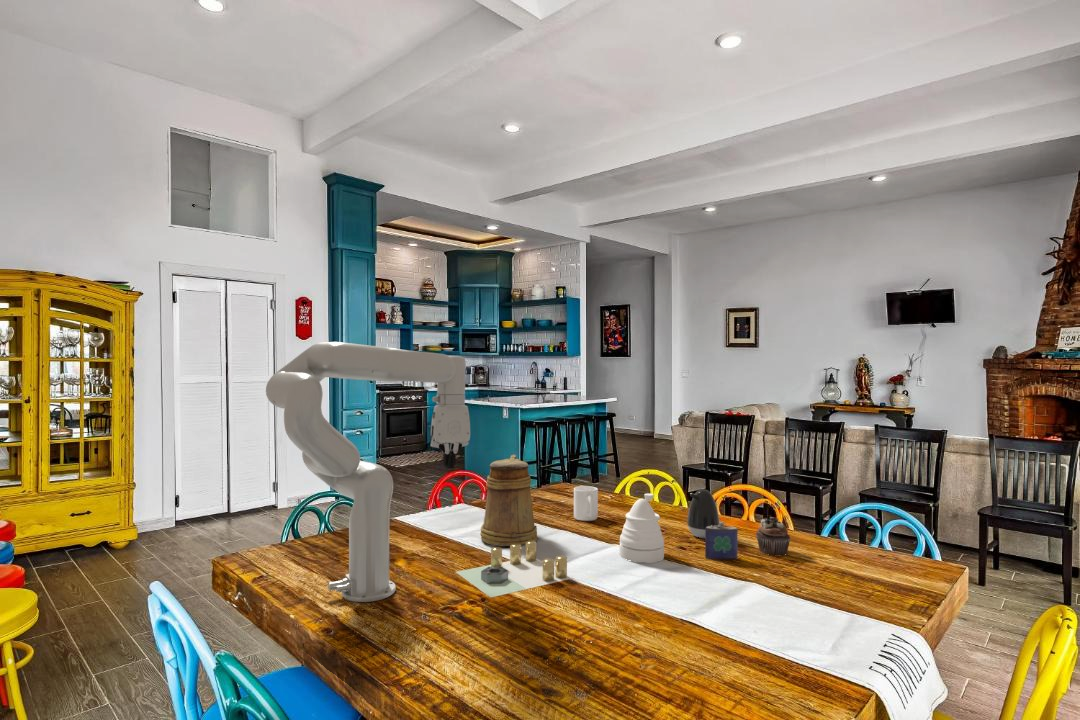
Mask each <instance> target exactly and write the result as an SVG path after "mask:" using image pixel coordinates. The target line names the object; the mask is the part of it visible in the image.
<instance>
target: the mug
mask: <svg viewBox="0 0 1080 720" xmlns="http://www.w3.org/2000/svg"><path fill="white" fill-rule="evenodd" d="M598 499H599V489H598V487H595V486H591V485H590V486H589V485H579V486H575V487H573V518H574V519H575V520H577V521H581V522H591V521H595V520H597V519H598V516H599V512H598V511H599V509H598V508H599V506H598V505H599V501H598Z"/></svg>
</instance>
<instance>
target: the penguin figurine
mask: <svg viewBox="0 0 1080 720" xmlns="http://www.w3.org/2000/svg"><path fill="white" fill-rule="evenodd" d="M689 496H690V497H692V500H691V502H690V504H689V508H688V513H687V521H686V522H687V523H686V524H687V526H688V531H690V533H691V534H692V535H693V536H694V537H697V538H698V537H699V538H698V539H705V528H706V527H708V526H711V525H712V526H714V525H715V526H714V527H716V526H718V525H720V522H721V521H720V516H719V514H720V513H719V510H718V506H717V504H716V501H715V499H714V497H713V494H712V493H711V492H710V491H709V490H708V489H705V488H704V489H698V490H697V491H696V492H695V493H693V492H691V493H689Z"/></svg>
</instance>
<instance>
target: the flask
mask: <svg viewBox="0 0 1080 720" xmlns="http://www.w3.org/2000/svg"><path fill="white" fill-rule="evenodd" d="M719 522H720V525H718V526H716V527H714V526H715V525H714V526H712V525H711V526H708V527H706V528H705V538H704V541H705V544H704V545H705V547H704V548H705V549H704V551H705V552H704V554H705V555H704V557H705V559H706V560H710V559H711V560H713V561H734V560H738V557H739V556H738V544H739V543H738V540H739V538H738V533H739V532H738V528H737V527H735V526H726V525H725V524H726V523H725V522H724V521H719Z"/></svg>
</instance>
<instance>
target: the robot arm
mask: <svg viewBox="0 0 1080 720" xmlns="http://www.w3.org/2000/svg"><path fill="white" fill-rule="evenodd" d="M466 362H467V361H466V359H465V357H464V356H460V355H447V354H445V353H438V352H437V353H436V352H426V351H418V350H416V351H415V350H407V349H400V348H395V347H387V346H380V345H379V346H378V345H367V344H360V343H359V344H358V343H351V342H342V341H329V342H328V341H327V342H326V341H325V342H324V341H323V342H317V343H315V344H312V345H311V346H310V347H308V348H307V349H305V350H303V352H301V353H300V354H298V355H297V356H296V357H294V358H293V359H292V360H291V361H289V362H288V363H287V364H285V365H284V366H283V367H281V368H280V369H279V370H278V371H276V372H275V373H274V374H273V375H271V377H270V378H269V380H268V381H267V383H266V387H265V396H266V397H267V400H268V401H269V402H270V403H271V404H272V405H273V406H274V407H277V408H280V409H284V410H283V424H284V430H285V432H286V436H287V437H288V438H289V440H290V442H291V443H293V444H294V445H295V446H296V448H298V449H299V450H300V451H301V452H302V454H301V455H302V456H301V457H302V462H303V463H304V465H305V466H306V468H307V469H308V470H309V471H310V472H311V473H312V474H313V475H315V476H316V477H317V478H319V479H320V480H321V481H322V482H324V483H325V484H326V485H328V486H329V487H330V488H331V489H332V490H334V491H335V492H337V493H338V494H340V495H341V496H344V497H346V498H349V499H352V500H353V504H352V507H351V510H350V514H349V518H348V519H349V521H348V573H346V574H345V575H344V576H345V578H342V579H341V580H338V581H337V580H336V581H331V582H330V581H329V582H328V585H327V586H328V591H329V592H331V591H336V592H337V593H339V592H342V593H341V595H342V598H344V599H345V600H346V601H349V602H353V603H356V602H357V603H369V602H371V603H372V602H377V601H381V600H385V599H386V598H389V597H390V596H392V595H393V594H394V593H395V592H396V589H397V588H396V584H395V582H393V581H392V580H390V513H391V512H390V511H391V501H392V497H393V492H394V479H393V476H392V474H391V473H390V471H389V470H388V469H387V468H386V467H384V466H383V465H380V464H377V463H374V462H371V461H365V460H364V461H363V460H361V455H360V451H359V450H358V448H357V446H356V445H355V444H354V443H353V442H352V441H351V440H349V439H348V438H347V437H346V436H344V435H343V434H342V433H341V432H340V431H338V430H337V429H336V428H335V427H334V426H333V425H332V424H331V423H330V421H329V422H328V420H327V419H326V418H325V416H324V415H323V412H322V404H323V403H322V401H323V393H324V392H323V388H322V385H321V381H323V380H324V379H325V378H334V379H344V380H345V379H347V380H361V381H363V380H364V381H375V382H420V383H435V384H436V383H437V384H436V385H437V386H436V387H437V388H436V389H437V390H436V395H435V396H432V397H431V401H432V402H435V403H436V405H434V407H433V413H432V417H431V423H430V424H431V425H430V439H431V441H430V447H432V448H437V449H439V450H440V451H441V452H442V454H443V456H442V461H443V462H442V465H443V467H444V468H445V469H447V470H450V469H455V465H456V464H457V462H456V459H457V458H456V456H457V455H456V454H458V452H459V451H460V449H461V448H463V447H466V446H468V445H470V444H469V441H470V439H471V422H470V411H469V407H468V405H465V404H466V403H465V401H466V399H465V398H466V395H465V394H466V364H467V363H466Z"/></svg>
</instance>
